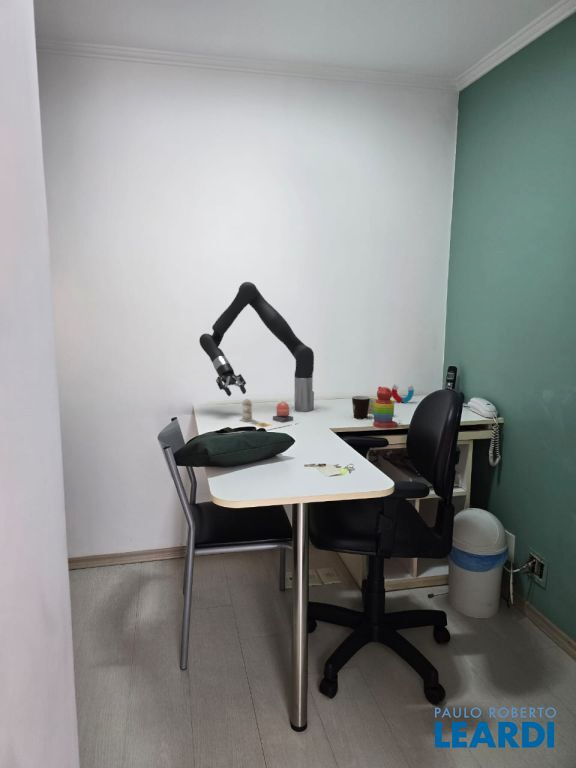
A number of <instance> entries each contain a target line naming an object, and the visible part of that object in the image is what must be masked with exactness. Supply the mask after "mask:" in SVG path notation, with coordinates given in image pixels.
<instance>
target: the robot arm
mask: <svg viewBox="0 0 576 768" xmlns="http://www.w3.org/2000/svg"><path fill="white" fill-rule="evenodd" d="M248 305H249V306H250V307H251V308H252V309H253V310H254V311H255V312H256V314H257V315H258V316H259V318H260V320H261V322H262V323H263V324H264V326H266V327H265V328H267V329H268V330H269V331H270V333H272V335H274V336H275V338H276V339H278V341H280V342H281V343H282V344H283V345H284V346H285V347H286V348H287V349H288V351H289V352H290V354H291V355H292V357H293V358H294V360H295V371H294V411H295V412H300V413H302V412H303V413H306V412H311V411H314V409H315V408H314V407H315V401H314V400H315V391H313V390H314V389H313V388H314V386H313V383H314V382H313V381H314V379H313V377H314V371H315V370H314V367H315V366H314V365H315V355H314V354H315V353H314V351H313V349H312V348H311V347H310V346H307V345H306V344H305V343H304V342H303V341H302V340H300V338H298V336H297V335H296V333H294V331H293V329H292V328H291V326H290V324H289V323H288V322H287V321H286V319H285V318H284V317H283V316H282V315H281V314H280V312H278V311H277V310H276V308H275V307H273V306H272V305H271V304H270V303H269V302H268V301H267V300H266V299H265V297H264V296H263V295H262V293H261V292H260V290H259V289H258V288H257V286H256V285H255V284H254V283H253V282H250V281H244V282H242V283H241V285H239V287H238V291H237V293H236V296H235V297H234V299H233V300H232V302H231V303H230V304H229V306H228V307H227V308H225V310H224V311H223V312H222V313H221V314H220V315H219V317H218V318H217V319H216V321H215V322H214V323H213V325H212V327H211V328H212V331H213V332H212V334H210V333H203V334H202V335H200V336H199V341H198V342H199V345H200V347H201V348H202V350H203V351H204V352H205V354H206V355H207V356H208V357H209V360H210V361H211V362H212V363H211V364H213V368H214V370H215V372H216V373H217V375H218V376H217V377H216V379H215V382H216V383H217V384H216V385H217V386H218V388H219V390H221V391H222V390H223V391H224V392H225V394H226V395H227V396H228V397H231V395H232V394H233V393H232V392H231V390H230V387H229V386H235V387H238V388H239V390H240V391H241V393H242V394H243V395H245V394H247V389H246V388H245V385H246V384H247V382H246V380H245V379H244V376H243V375H242V374H241V373H239V374H238V375H236V374H235V370H234V369H233V367H232V365H231V363H230V362H229V359H228V358H227V357H226V355H225V354H224V352H223V350H222V349H221V348H220V347H219V346H220V345H221V343H222V340H223V338H224V335H225V334H226V333H227V331H228V330H229V329H230V328H231V326H232V325H233V323H234V322H235V321H236V319H237V318H238V316H239V315H240V314H241V313H242V311H243V310H244V309H246V307H247V306H248Z"/></svg>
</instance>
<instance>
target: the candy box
mask: <svg viewBox="0 0 576 768" xmlns="http://www.w3.org/2000/svg"><path fill="white" fill-rule="evenodd" d="M369 397H370V396H369ZM377 399H378V397H370V401H369V408H368V415H369V414H370V415H373V408H374V404H375V402H376V400H377ZM390 400H391V401H392V403H393V408H394V409H395V399H390ZM394 416H395V415H393V417H394Z"/></svg>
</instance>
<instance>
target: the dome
mask: <svg viewBox="0 0 576 768" xmlns="http://www.w3.org/2000/svg"><path fill="white" fill-rule="evenodd" d="M277 415H278V416H290V405H289V403H287V402H285V401H281V402H278V403H277V405H276V416H277Z"/></svg>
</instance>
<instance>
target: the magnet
mask: <svg viewBox="0 0 576 768" xmlns="http://www.w3.org/2000/svg"><path fill="white" fill-rule="evenodd" d="M398 389H399V386H398V385H397V384H395V383H393V386H392V388H391V391H392V398H393V400H394V401H395V402H397V403H399V402H404V403H403V404H406V403H408V402H410V401H411V400H412V399H413V396H414V392H415V391H414V386H413V384H410V385H409V386H407V391H408V392H407V394H406V396H400V395H399V393H398Z"/></svg>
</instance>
